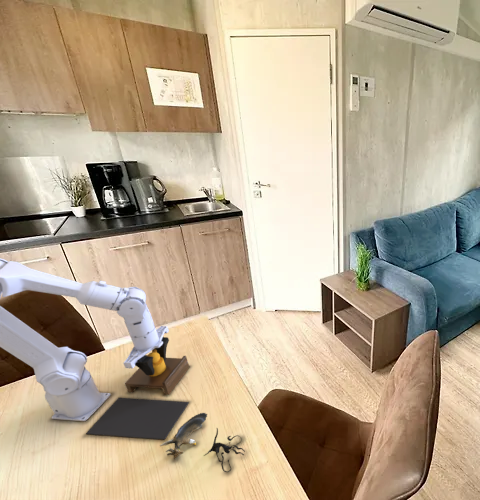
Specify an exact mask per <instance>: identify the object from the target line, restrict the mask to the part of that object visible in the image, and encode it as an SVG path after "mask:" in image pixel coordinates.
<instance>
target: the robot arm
mask: <svg viewBox="0 0 480 500" xmlns="http://www.w3.org/2000/svg"><path fill="white" fill-rule="evenodd" d="M25 291H32V292H39V293H44V294H50V295H57V296H62V297H63V296H64V297H69V298H75V299H76V300H77V301H78V303H80V304H81V305H84V306H88V307H94V308H99V309H103V310H108V311H114V312H116V314H117V315H118V316H119V317H121V318H123V321H124V325H125V327H126V329H127V331H128V335H129V337H130V340H131V342H132V345H133V347H132V349H131V351H130V352H129V354H128V355H127V358H126V359H125V360H124V361H123V366H124V368H125V369H128V370H129V369H134V368H135V367H137V368H138V369H139V368H140V369H141V370H142V371H143V372H144V373H145V374H146V375H153V374H154V368H153V357H150V356H147V355H148V354H149V353H151V352H152V351H153V350H154V349H156V350H157V353H158V354H159V355H160V357H162V358H163V360H164V362H165V361H166V358H167V348H168V344H169V341H170V339H169V337H168V336H165V337H164V335H166V334H169V331H170V330H169V327H168V326H167V325H160V327H158V328H156V325H155V322H154V319H153V317H152V314H151V312H150V310H149V307H148V305H147V295H146V292H145V291H144V289H141V288H139V287H137V286H129V287H120V286H115V285H111V284H107V281H105V280H99V281H95V280H91V281H87V282H84V283H82V282H79V281H76V280H72V279H69V278H66V277H62V276H59V275H54V274H51V273H48V272H44V271H42V270H38V269H34V268H31V267H28V266H27V265H25V264H22V263H21V262H19V261H12V260H9V261H8V260H6V259H4V258H1V257H0V299H1V298H6V297H10V296H13V295H16V294H19V293H22V292H25ZM0 348H1V349H3V350H4V351H6V352H7V353H9V354H11V355H12V356H14V357H15V358H16V359H19V360H20V361H22V362H23V363H25V364H27V365H28V366H30V367H31V368H32V369H33V371H34V376H35V380H36V383H38V384H40V385H41V386H42V388H43V391H44V392H45V393H44V399H45V401H46V403H47V404H48V406H49V407H50V409H51V410H52V412H53V415H52V416H51V417H50V418H51V419H52V420H61V421H77V422H86V421H88V420H89V419H90V417H91V416H93V414H94V413H95V412H96V411H97V410H98V409H99V408H100V407H101V406H102V405H103V404H104V403H105V402H106V401H107V399H109V398H110V397H111V395H112V394H111V393H110V392H101V391H100V390H99V388H98V386H97V384H96V382H95V380H94V378H93V376H92V374H91V372H90V371H89V370H88V369H87V368H86V364H87V362H88V357H87V355H86V354H85V353H84V352H82V351H79V350H74V349H72V348H70V347H69V346H61V347H58V346H57V345H55V344H54V343H52V341H49V340H48V339H47V338H46V337H44V336H43V335H41V334H40V333H39V332H37V331H36V330H35V329H33V328H31V326H29V325H28V324H26V323H25V322H23V320H20V318H18V317H17V316H15V315H14V314H13V313H11V312H9V311H8V310H7V309H5V308H4V307H3V306H1V305H0Z"/></svg>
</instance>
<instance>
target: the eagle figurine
mask: <svg viewBox="0 0 480 500" xmlns="http://www.w3.org/2000/svg"><path fill="white" fill-rule="evenodd" d="M207 417H208V413H206V412H200V413H197V414H195V415H194V416H192V417H191V418H189V419H188V420H187V421H185V422H184V423H183V424H182V425H181V426H180V427H179V428H178V429H177V432H176V433H175V434H174V435H173V437H172V438H171V439H169V440H167V441H165V442H163V443H160V444H159V446H160V447H162V446H169V445H171V444H174V449H173V448H171V447H170V448H169V449H166V450H165V453H166V456H173V459H174V460H176V459H177V458H178V457H179V455H182V454H184V451H183V450H180V449H181V446H186V445H194V446H196V445H197V443H196V441H195V439H193V438H190V436H191V435H192V433H193V432H195V431H196V430H198V429H200V428H202V427H203V423H204V422H206V420H207ZM168 452H169V453H168Z"/></svg>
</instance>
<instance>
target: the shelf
mask: <svg viewBox="0 0 480 500" xmlns="http://www.w3.org/2000/svg"><path fill="white" fill-rule="evenodd" d="M165 365H166V369H165V371H164V372H163V373H161V374H160V375H157V376H149V375H146V374H145V373H144V372H143V371H142V370H141V369H140V368H138V369H136V371H135V372H134V373H132V375H131V376H130V377H129V378H128V379H127V380H126V381H125V382H124V386H125V388H126V390H127V392H128V393H134V391H135V390H136V389H137V388H149V389H151V388H152V389H162V391H163V393H164V395H165V396H170V395H171V393H172V391H173V390H174V389H175V388H176V387H177V385H178V384H179V382H180V381H181V379H182V378H183V377H184V375H185V374H186V372H188V370H189V369H190V365H189V360H188V358H187V356H186V355H183V356H182V357H166V361H165Z"/></svg>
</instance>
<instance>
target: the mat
mask: <svg viewBox="0 0 480 500" xmlns="http://www.w3.org/2000/svg"><path fill="white" fill-rule="evenodd" d="M188 405H189V401H179V400H165V399H163V400H162V399H149V398H134V397H133V398H132V397H118V398H117V399H116V400H115V401H114V402H113V403H112V404H111V405H110V406H109V407H108V409H106V411H105V412H104V413H103V414H102V415H101V416H100V417H99V418H98V420H96V422H95V423H94V424H93V425H92V426H91V427H90V428H89V429H88V431H87V432H86V433H85V434H86V435H88V436H89V435H91V436H103V437H116V438H117V437H118V438H128V439H129V438H131V439H144V440H159V441H165V440H166V439H167V437H168V436H169V434H170V433H171V431H172V430H173V428H174V426H175V425H176V424H177V422H178V420H179V419H180V417H181V416H182V414H183V413H184V411H185V410H186V408H187V406H188Z"/></svg>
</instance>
